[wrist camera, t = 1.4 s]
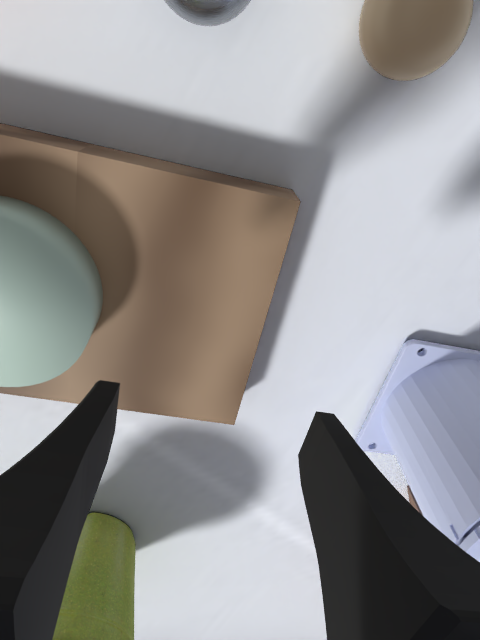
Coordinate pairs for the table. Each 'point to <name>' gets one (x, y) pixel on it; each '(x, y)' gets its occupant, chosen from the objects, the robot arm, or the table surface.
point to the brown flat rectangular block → (158, 270)
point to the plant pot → (100, 584)
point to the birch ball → (412, 35)
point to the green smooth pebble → (43, 295)
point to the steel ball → (207, 10)
